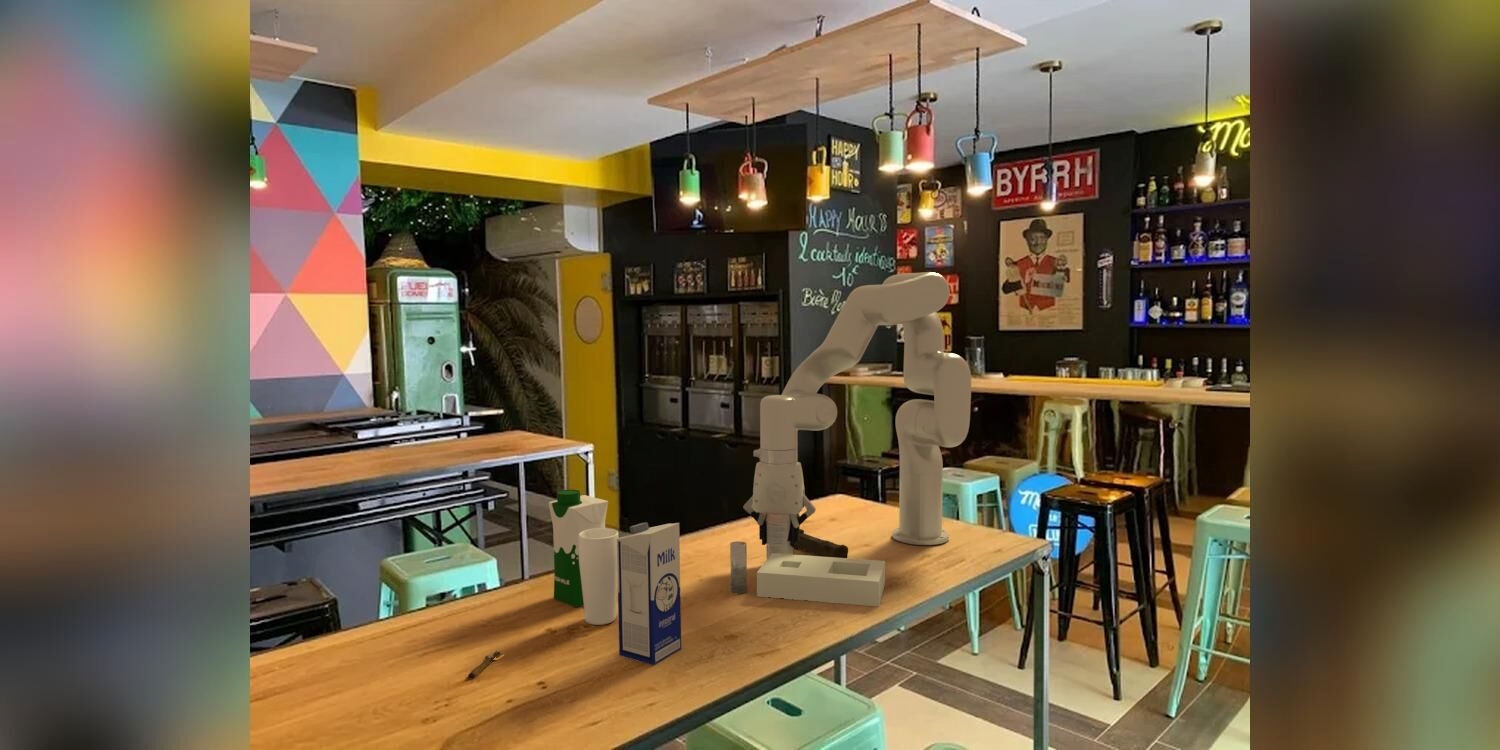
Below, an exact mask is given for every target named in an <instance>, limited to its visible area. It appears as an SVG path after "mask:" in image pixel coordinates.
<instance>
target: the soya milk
mask: <svg viewBox="0 0 1500 750" xmlns="http://www.w3.org/2000/svg"><path fill="white" fill-rule="evenodd" d="M556 497H557V498H556V500H551V501H549V502H548V507H549V513H550V517H551V523H552V530H553V531H552V532H553V563H554V564H553V565H554V567H553V568H554V569H553V570H554V572H553V573H554V574H553V575H554V577H553V578H554V580H553V581H554V582H553V583H554V584H553V599H554V600H557V601H559V602H561V603H563V604H566V605H568V606H570V607H572V608H573V607H574V608H575V609H576V608H579V607H582V606H583V607H584V603H583V593H582V585H581V576H580V567H579V557H578V535H579V533H580V532H582V531H585V530H589V529H595V528H606V517H607V510H608V506H609V501H608V500H605V499H602V498H598V497H593V496H590V495H585V494H584V495H583V494H582V495H581V491H580V490H579V489H563V490H559V491H558V492H557V494H556Z"/></svg>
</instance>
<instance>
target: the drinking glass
mask: <svg viewBox="0 0 1500 750" xmlns="http://www.w3.org/2000/svg"><path fill="white" fill-rule="evenodd" d="M618 538H620V537H619V531H618V530H617V529H614V528H609V527H605V528H595V529H589V530H585V531H582V532H580V533H579V535H578V557H579V567H580V576H581V585H582V593H583V603H584V605H583V618H584V621H585V622H586V623H587V624H590V625H595V626H603V625H607V624H610V623H612V622H614V621H615V620H616V619H617V603H618V574H617V540H616V539H618Z"/></svg>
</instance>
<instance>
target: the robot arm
mask: <svg viewBox="0 0 1500 750" xmlns="http://www.w3.org/2000/svg"><path fill="white" fill-rule="evenodd" d="M950 294H951V292H950V285H949V283H948V280H947V279H946V278H945V277H944V276H943V275H942V274H940V273H938V272H937V273H936V272H932V271H927V272H926V271H925V272H909V273H907V272H905V273H899V274H894V275H893V274H892V275H890V276H888V277H887V278H886V279H885V280H883V283H882V284H868V285H861V286H858V287H856V288H854V289H853V290H852V291H851V292H850V293H849V295H848V296H847V297H846V298H847V299H846V300H845V302H844V304H843V306H842V308H841V309H840V311H839V313H838V314H837V317H836V318H835V320H834V323H833V325H832V326H831V328H830V330H829V332H828V333H827V336H826V337H825V339H824V341H823V342H822V344H821V345H820V346H818V347H817V348H816V349H815V350H814V351H812V352H811V354H809V356H807V358H805V359H804V360H803V361H802V362H801V363H800V364H799V365H798V366H797V368H796V369H795V370H794V372H793V373H792V374H791V376H790V377H789V379H788V381H787V384H786V385H785V387H784V389H783V391H782V393H781V394H772V395H767V396H764V397H763V398H762V399H761V400H760V403H759V404H760V406H759V411H760V412H759V413H760V414H759V415H760V416H759V417H760V418H759V421H760V423H759V425H760V426H759V427H760V428H759V429H760V433H759V435H760V437H759V438H760V442H759V443H760V447H759V448H758V449H754V450H753V457H757V458H759V461H758V462H757V463H755V464H756V465H755V469H754V470H755V471H754V477H753V488H752V493H753V494H752V496H751V497H750V498H749V499H748V500H747V501H746V502H745V503H744V505H743V507H742V508H743V510H745V511H746V513H748V514H750V516H751V517H752V518H753V519H754V521H755V522H756V523H757V525H758V527H759V530H758V532H759V536H758V537H759V540H760V541H761V545H762V546H766V545H767V541H766V513H779V514H790V517H791V520H792V523H793V524H792V527H791V546H792V547H795V545H796V544H797V542H799V540H800V529H801V528H800V525H802V524H803V523H804V522H805V521H806V520H807V519H808V518H810V517H811V516H812V515H813V514H815V512H816V510H817V508H816V507H815V505H814V504H813V503H812V502H811V501H810V499H809V498H808V497H807V495H806V494H805V493H806V492H805V484H804V482H805V481H804V474H803V468H802V463H801V462H799V461H798V456H799V455H798V448H799V447H798V431H799V430H800V431H824V430H826V429H828V428H830V427H831V426H833V424H834V423H835V422H836V419H837V417H838V408H837V404H836V403H835V401H833V399H832V398H830V397H829V396H827V395H825V394H823V393H822V394H821V393H818V391H819V390H820V388H821V387H822V386H823V385H824V384H825V383H826V382H827V381H829V380H830V379H831V378H832V377H834V376H835V375H837V374H840V373H842V372H844V371H846V370H848V369H850V368H852V367H854V366H855V365H856V364H858V363H859V362H860V361H861V359H862V357H863V355H864V354H865V351H866V350H867V347H868V346H869V343H870V341H871V340H872V339H873V336H874V334H875V332H876V330H877V329H878V327H879V326H896V325H900V324H901V325H902V329H903V335H904V337H903V339H904V345H903V347H904V348H903V351H904V352H903V382H904V385H905V387H906V388H907V389H908V390H910V391H911V392H913V393H916V394H922V395H929V396H933V397H934V400H930V399H922V398H919V399H918V398H917V399H916V398H914V399H911V400H908V401H906V402H904V403H902V405H900V406H899V408H898V410H897V412H896V414H895V419H894V420H895V430H896V436H897V441H898V449H899V451H898V452H899V504H898V505H899V508H898V509H899V512H898V514H899V516H898V517H899V519H898V521H899V523H898V524H899V526H898V527H896V528H895V529H893V530H892V538H893V539H894V540H896V541H897V542H899V543H904V544H908V545H914V546H934V545H935V546H936V545H942V544H944V543H947V542H948V541H949V540H950V534H949V532H947V531H946V530H944V529H943V477H944V476H943V475H944V473H943V471H944V470H943V469H944V467H943V456H942V452H941V449H940V447H943V448H955V447H957V446H959V445H961V444H962V443H963V442H964V441H965V440H966V438H967V436H968V433H969V428H970V422H971V404H972V402H971V400H972V374H971V369H970V367H969V365H968V363H967V361H966V360H965V359H964V358H963V357H962V356H960V355H959V354H956V353H953V352H944V329H943V324H942V321H941V319H940V317H939V314H938V312H939V311H940V310H942V308H944V307H945V306H946V304H947V302H948V301H949V298H950ZM804 508H805V509H806V510H805V511H804V512H803V513H801V515H800V512H802V511H803V509H804Z"/></svg>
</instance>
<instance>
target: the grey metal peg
mask: <svg viewBox="0 0 1500 750" xmlns="http://www.w3.org/2000/svg"><path fill="white" fill-rule="evenodd" d="M729 548H730V549H729V551H730V554H729V555H730V559H729V560H730V563H729V564H730V593H732V594H734V593H737V594H736V595H740V594H739V593H743V594H746V593H747V592H748V581H747V580H748V576H747V575H748V572H747V570H748V565H747V563H748V562H747V558H748V557H747V555H748V554H747V548H748V547H747V542H745V541H733V542H730V543H729ZM746 591H747V592H746ZM745 592H746V593H745Z"/></svg>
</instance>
